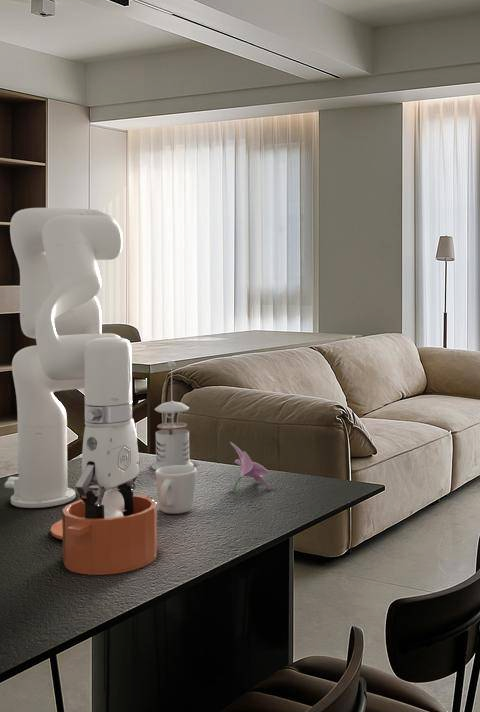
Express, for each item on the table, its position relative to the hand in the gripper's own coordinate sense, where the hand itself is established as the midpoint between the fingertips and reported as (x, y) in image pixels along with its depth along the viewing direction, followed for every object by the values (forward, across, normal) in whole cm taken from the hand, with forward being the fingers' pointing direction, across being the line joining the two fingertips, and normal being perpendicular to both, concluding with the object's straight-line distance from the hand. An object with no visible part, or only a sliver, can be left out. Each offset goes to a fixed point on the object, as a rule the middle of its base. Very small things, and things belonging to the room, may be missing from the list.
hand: (110, 521), depth 139 cm
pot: (+6, 0, 0) cm, 6 cm away
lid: (+5, +12, +11) cm, 17 cm away
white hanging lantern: (+6, +61, +23) cm, 65 cm away
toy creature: (+2, 0, 0) cm, 2 cm away
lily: (+6, +46, -4) cm, 47 cm away
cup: (+6, +26, +3) cm, 27 cm away
